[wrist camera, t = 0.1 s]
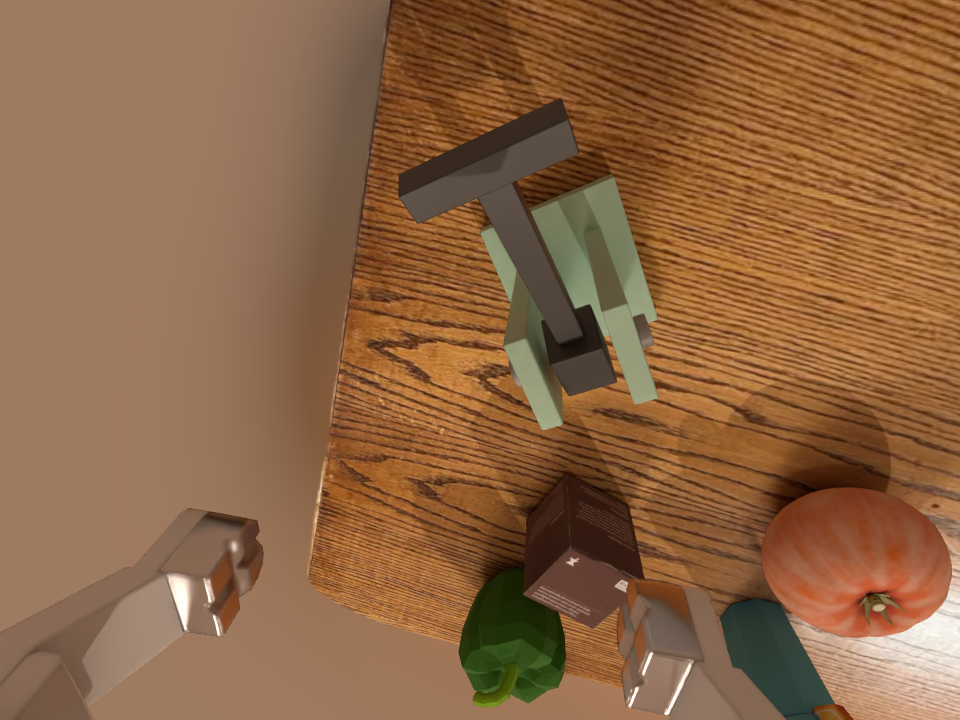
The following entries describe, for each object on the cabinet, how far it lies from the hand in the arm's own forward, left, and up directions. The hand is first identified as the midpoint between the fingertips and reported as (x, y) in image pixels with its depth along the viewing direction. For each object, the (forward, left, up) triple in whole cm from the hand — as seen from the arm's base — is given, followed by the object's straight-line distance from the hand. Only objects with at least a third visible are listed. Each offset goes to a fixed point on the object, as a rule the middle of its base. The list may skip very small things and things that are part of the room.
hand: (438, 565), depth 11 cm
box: (+21, -3, -24) cm, 32 cm away
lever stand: (+2, +3, -23) cm, 24 cm away
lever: (-2, +3, -11) cm, 12 cm away
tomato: (+27, +14, -24) cm, 39 cm away
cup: (+38, +7, -24) cm, 45 cm away
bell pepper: (+28, -11, -24) cm, 38 cm away
